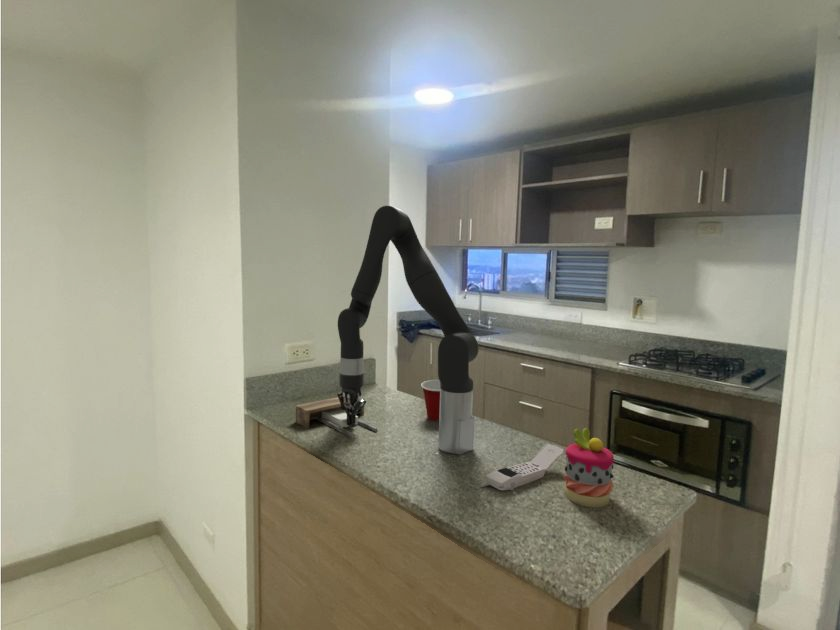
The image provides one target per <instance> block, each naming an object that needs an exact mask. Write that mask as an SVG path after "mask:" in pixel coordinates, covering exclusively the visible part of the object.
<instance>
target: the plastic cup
mask: <svg viewBox="0 0 840 630" xmlns="http://www.w3.org/2000/svg"><path fill="white" fill-rule="evenodd" d="M420 386H421V388H422V391H423V397H424V402H425V409H426V415H427V416H426V417H427V419H429V420H431V421H439V412H440V381H439V379H429V380H425V381H423V382H421V384H420Z"/></svg>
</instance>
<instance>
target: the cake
mask: <svg viewBox="0 0 840 630" xmlns="http://www.w3.org/2000/svg"><path fill="white" fill-rule="evenodd" d="M573 435H574V437H575V439H574V443H572V444H569V445H567V447H566V449H565V458H566V459H565V460H566V462H565V464H566V465H565V467H564V470H565V474H564V475H562V478H564V480H565V483H564V496H565V498H566V499H568V500H569V501H570V502H572V503H575V504H576V505H579V506H583V507H586V508H587V507H588V508H603V507H605V506H608V505H609V503H610V501H611V500H610V498H611V497H610V496H611V492H612V490H613V489H614V483H613V482H614V481H613V480H612V479H613V478H614V475H613V472H612V471H613V469H614V463H615V462H614V457H615V456H614V454H613V452H612V451H611V450H610V449H608V448H606V447H604V443H603V441H602V440H601V439H600V438H598V437H592V438H590V435H591V432H590V429H589V428H587V427H585V428H583V429H582V431H581V430H580V429H579V428H576V429H574V430H573Z"/></svg>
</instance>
